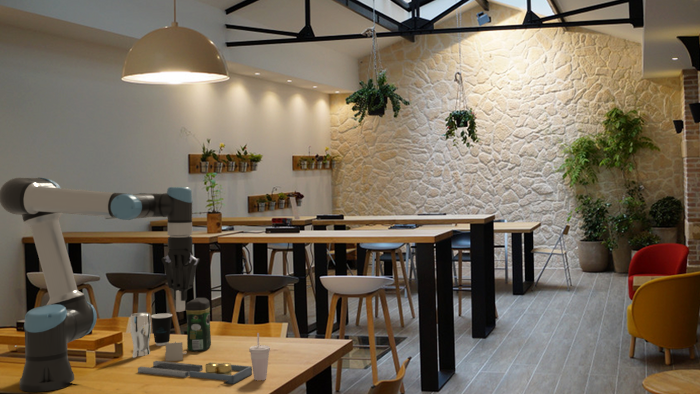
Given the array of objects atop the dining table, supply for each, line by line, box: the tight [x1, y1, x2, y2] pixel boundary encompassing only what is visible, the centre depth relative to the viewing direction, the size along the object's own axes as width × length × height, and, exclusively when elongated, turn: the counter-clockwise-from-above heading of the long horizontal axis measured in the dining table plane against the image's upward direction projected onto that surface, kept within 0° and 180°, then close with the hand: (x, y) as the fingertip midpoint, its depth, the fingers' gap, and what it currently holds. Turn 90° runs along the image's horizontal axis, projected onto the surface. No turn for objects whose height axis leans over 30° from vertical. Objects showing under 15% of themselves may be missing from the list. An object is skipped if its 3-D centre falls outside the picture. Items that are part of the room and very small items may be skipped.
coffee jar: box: [185, 297, 212, 352], centre depth 245 cm, size 10×8×19 cm
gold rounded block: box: [204, 362, 219, 374], centre depth 205 cm, size 4×4×4 cm
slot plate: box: [137, 360, 203, 379], centre depth 211 cm, size 9×18×2 cm, turn 68°
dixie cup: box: [150, 312, 173, 347], centre depth 253 cm, size 8×8×11 cm
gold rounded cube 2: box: [218, 362, 232, 375], centre depth 205 cm, size 4×4×4 cm
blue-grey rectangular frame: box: [189, 363, 253, 385], centre depth 207 cm, size 11×16×2 cm
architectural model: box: [164, 341, 188, 362], centre depth 226 cm, size 3×7×7 cm, turn 103°
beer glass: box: [129, 312, 152, 359], centre depth 235 cm, size 7×7×15 cm
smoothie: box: [248, 332, 271, 381], centre depth 204 cm, size 6×6×14 cm
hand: (180, 310), depth 210 cm, fingers closed
